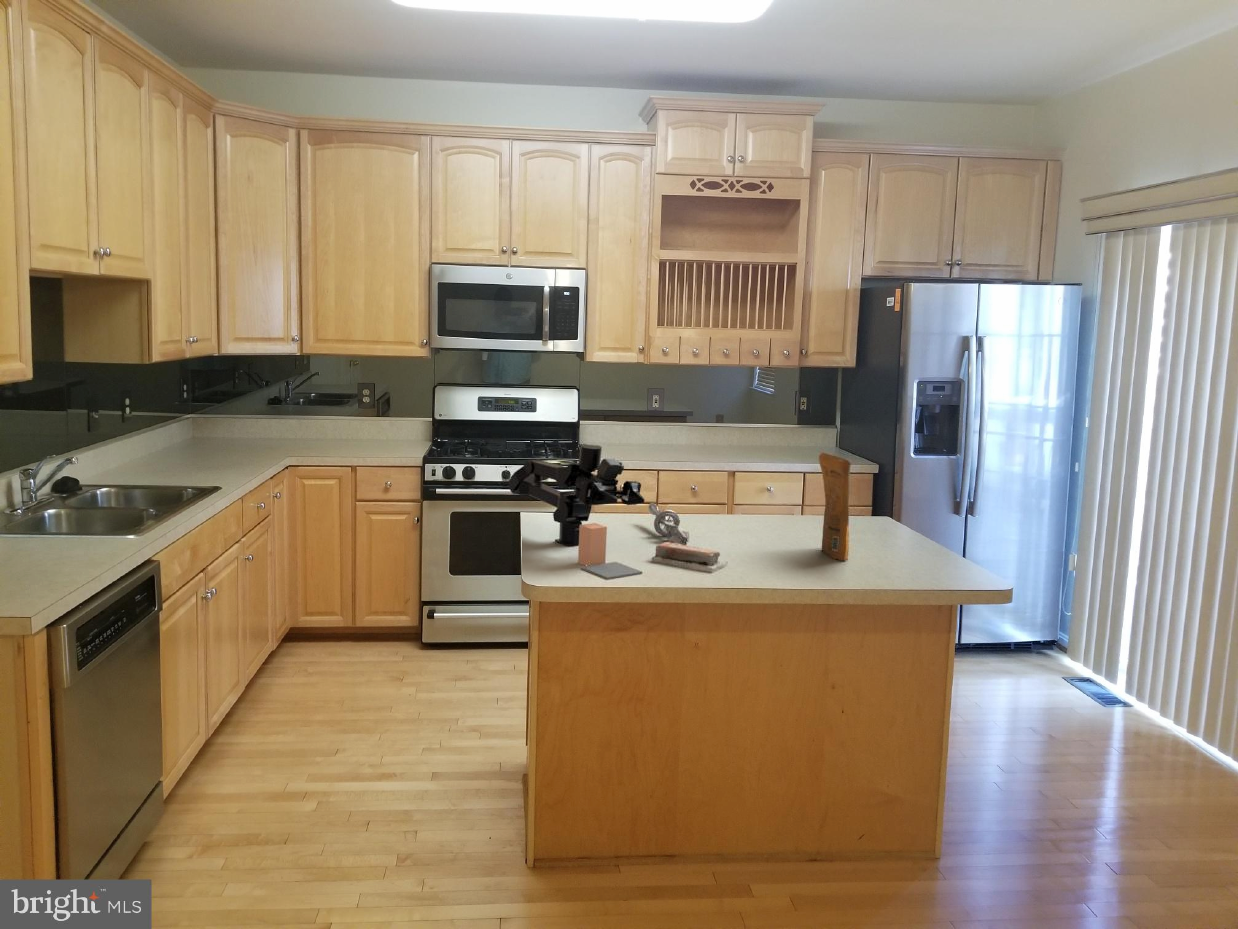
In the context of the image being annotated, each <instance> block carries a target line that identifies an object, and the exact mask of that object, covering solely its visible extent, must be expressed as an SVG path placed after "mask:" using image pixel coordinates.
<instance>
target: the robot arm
mask: <svg viewBox="0 0 1238 929" xmlns="http://www.w3.org/2000/svg"><path fill="white" fill-rule="evenodd" d="M602 448H603V447H602V446H601V445H599V444H597V445H594V444H586V443H581V444H579V449H578V450H579V455H578V463H570V464H568V465H567V466H565V465H560V464H556V463H552V462H548V461H544V460H543V459H531V460H528V461H526V462H525V463H524V464H523V466H521V467H520V468H519V469H517V470H516V471H514V473H512V475H511V477H510V478H509V479H508V484H507V485H508V488H509V491H510V492H511V493H512V494H513V495H518V496H531V497H532V498H535V499H537V500H539V501H541V502H543V503H545V504H547V505H550V506H552V507H555V508H556V509H555V510H554V512H553V513H552V518H553V521H554V522H556V523H559V533H558V534H559V536H558V537H559V538H556V539H554V542H555V543H559V544H560V545H564V546H566V547H567V546H568V547H569V546H579V528H580V525H583V522H588V521H589V518H590V514H591V511H592V508H593V507H592V506H602V505H612V504H613V505H614V504H618V501H619V500H620V501H621V503H622V504H624V505H627V506H636V505H641V504H644V503H645V500H646V499H645V497H644V496H642V494H640V492H641V489H642V484H641V482H639V481H636V480H626V481H625V482H624V483H623V485H622V489H618V486H617V485H619V484H618V483H619V479H617V478H618V476H619V475H621V474H622V473H623V471H624V469H625V467H624V464H623V462H622V461H619V460H617V459H615V458H604V459H602V460H601V458H602ZM596 470H597V471H596ZM595 472H596V474H595ZM543 477H544V478H547V479H551V480H554V481H555V482H556V484H557V485H559V486H560V487H562V488H575V489H574V490H567V491H561V490H558V489H556V488H554V487H551V486H548V485H547V484H545V483H542V481H543Z"/></svg>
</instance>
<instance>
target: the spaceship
mask: <svg viewBox="0 0 1238 929" xmlns="http://www.w3.org/2000/svg"><path fill="white" fill-rule="evenodd" d="M648 510H649V513H651V515H653V516H655V519H654V520H653V528H654V530H655V532H656V533H657V534H658V535H660V536H663V537H666V540H667V542H670V543H676V544H681V545H686V546H687V544H688V543H689V542H690V532H689V531H686V530H685V529H684V528H682V527H681V526H680V522H681V520H680V516H679V514H677V512H676V511H673V510H672V509H666V510H665V509H662V511H661V510H659V507H658V505H657V504H656V503H654V502H650V503H649V504H648ZM662 527H663V528H662ZM679 529H681V530H682V531H681V530H679Z"/></svg>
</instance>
